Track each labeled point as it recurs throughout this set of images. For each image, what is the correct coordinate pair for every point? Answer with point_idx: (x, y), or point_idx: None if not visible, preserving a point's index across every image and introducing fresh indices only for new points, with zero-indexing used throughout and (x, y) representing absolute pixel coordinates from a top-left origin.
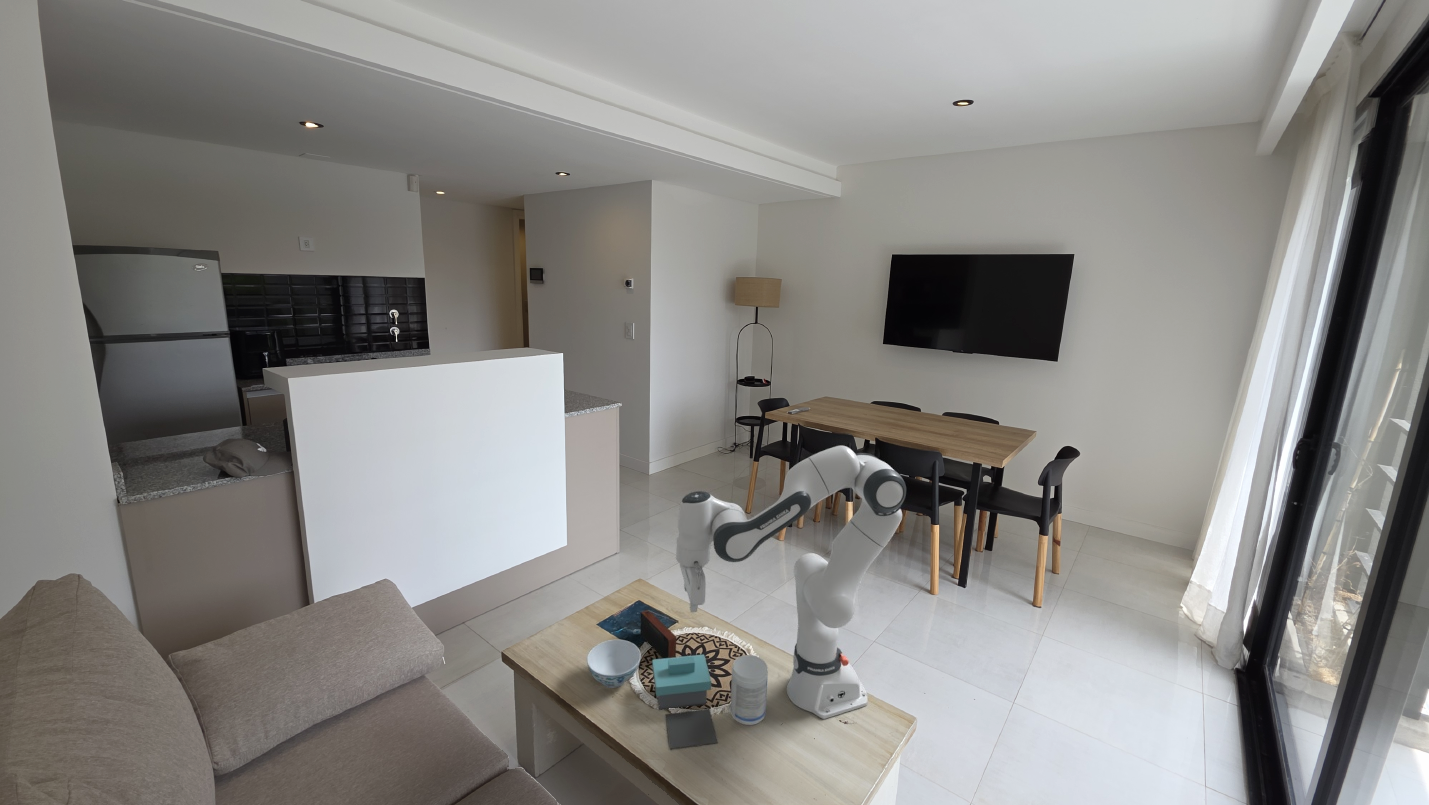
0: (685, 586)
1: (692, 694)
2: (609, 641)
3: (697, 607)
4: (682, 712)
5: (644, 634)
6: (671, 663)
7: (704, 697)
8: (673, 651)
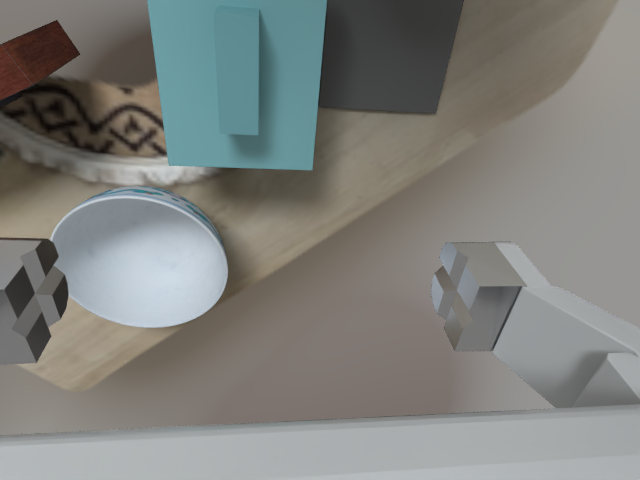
0: (38, 352)
1: None
2: None
3: (538, 271)
4: (325, 52)
5: None
6: (247, 125)
7: None
8: (46, 41)
